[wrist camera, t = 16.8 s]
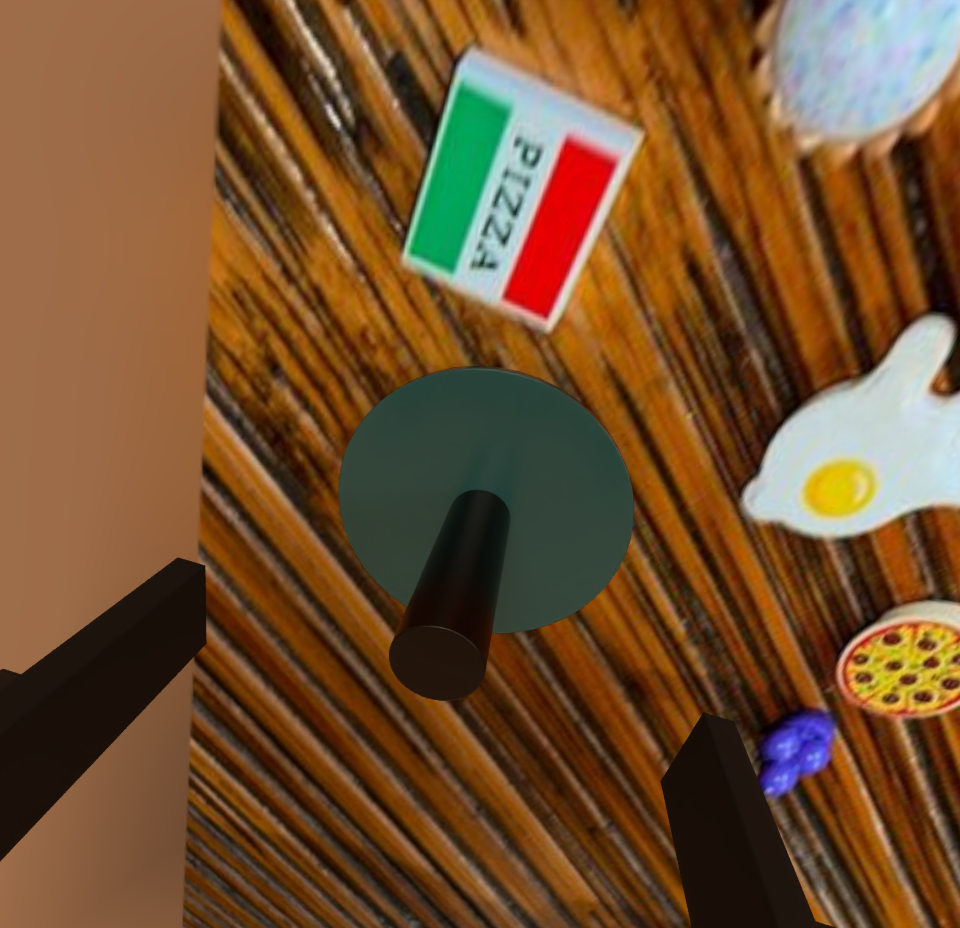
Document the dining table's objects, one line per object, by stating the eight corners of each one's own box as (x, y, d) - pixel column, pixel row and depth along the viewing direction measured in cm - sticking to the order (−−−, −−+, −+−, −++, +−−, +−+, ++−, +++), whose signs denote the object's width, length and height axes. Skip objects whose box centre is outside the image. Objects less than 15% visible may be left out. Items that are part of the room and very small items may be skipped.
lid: (335, 577, 23) (213, 748, 15) (366, 327, 18) (209, 374, 10) (576, 647, 23) (591, 864, 14) (678, 409, 18) (792, 532, 9)
